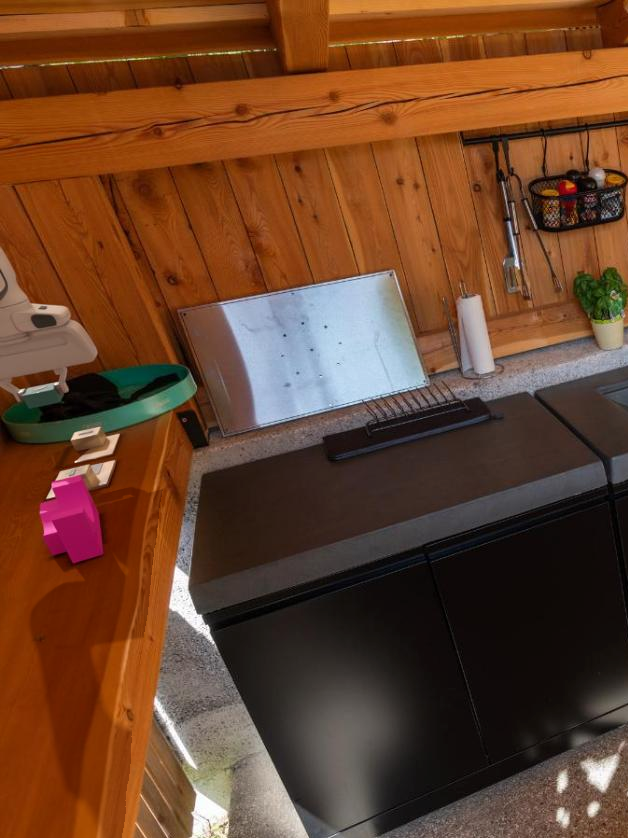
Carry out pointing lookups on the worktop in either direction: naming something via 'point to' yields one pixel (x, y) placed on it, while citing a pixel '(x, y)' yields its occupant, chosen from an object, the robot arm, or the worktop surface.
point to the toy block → (72, 521)
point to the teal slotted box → (41, 396)
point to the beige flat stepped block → (94, 443)
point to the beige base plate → (89, 475)
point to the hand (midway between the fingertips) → (44, 396)
